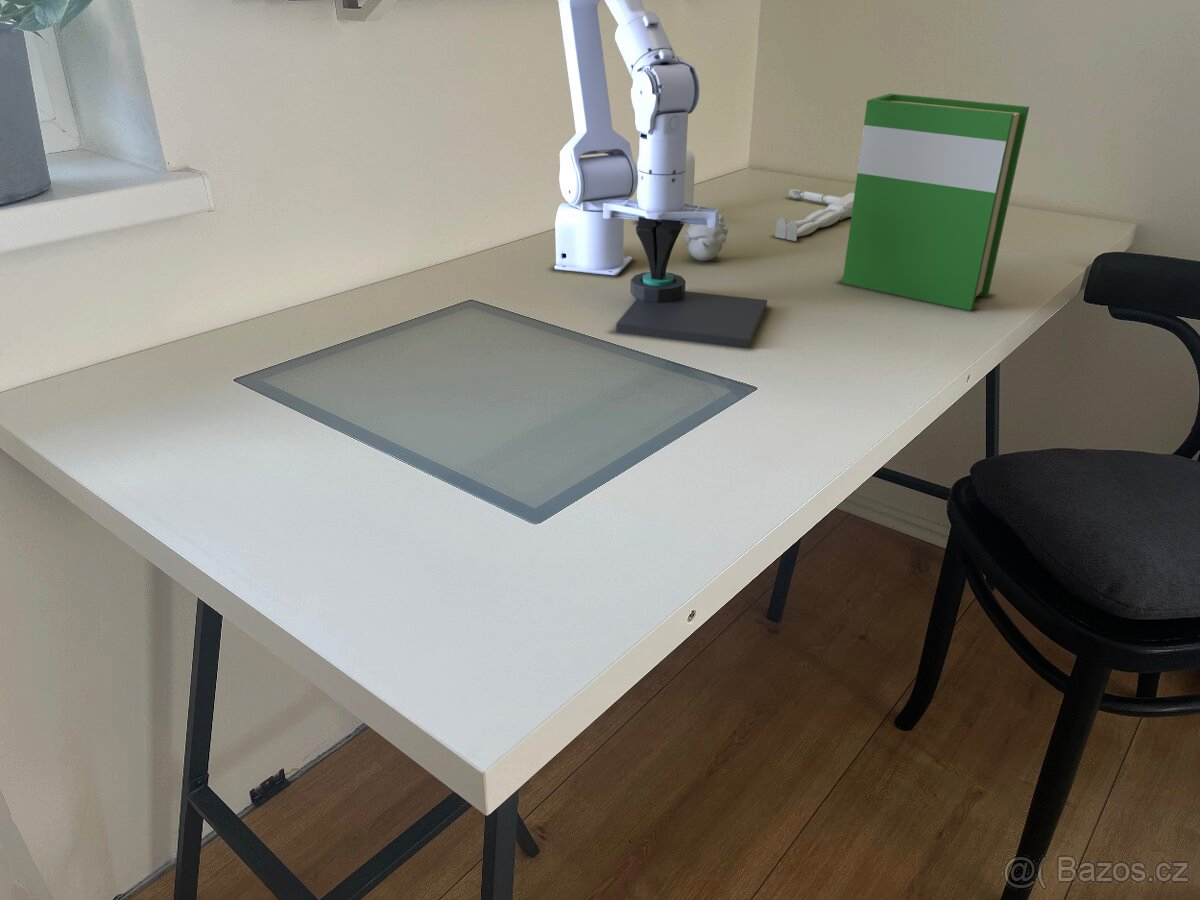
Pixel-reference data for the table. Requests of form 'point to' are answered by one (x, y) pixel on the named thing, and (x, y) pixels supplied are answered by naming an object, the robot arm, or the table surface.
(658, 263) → the robot arm
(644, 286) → the scale
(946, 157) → the hardback book
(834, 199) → the artist's mannequin
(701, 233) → the white rounded lumpy piece
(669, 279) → the button
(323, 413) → the table surface
